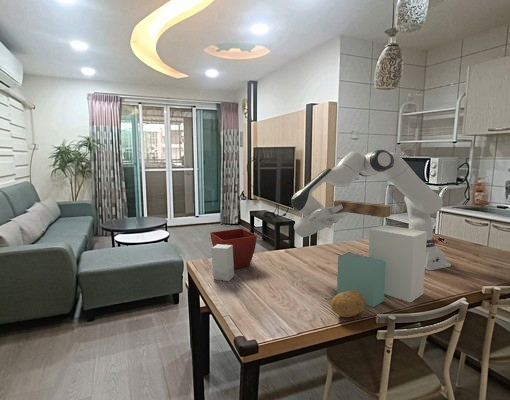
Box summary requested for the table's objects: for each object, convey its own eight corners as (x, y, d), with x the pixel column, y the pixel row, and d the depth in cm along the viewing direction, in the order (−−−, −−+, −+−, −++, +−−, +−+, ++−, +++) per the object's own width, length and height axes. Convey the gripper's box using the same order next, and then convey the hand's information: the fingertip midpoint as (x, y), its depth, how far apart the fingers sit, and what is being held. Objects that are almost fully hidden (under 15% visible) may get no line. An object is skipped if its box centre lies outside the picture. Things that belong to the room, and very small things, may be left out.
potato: (322, 315, 112) (323, 293, 111) (349, 304, 120) (349, 284, 119) (344, 327, 104) (345, 304, 103) (371, 315, 112) (372, 293, 111)
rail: (333, 210, 131) (333, 200, 130) (339, 209, 133) (339, 199, 133) (384, 217, 114) (385, 206, 114) (390, 216, 117) (390, 205, 116)
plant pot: (223, 273, 154) (222, 240, 152) (210, 262, 171) (209, 232, 169) (258, 267, 163) (257, 235, 161) (242, 257, 180) (241, 228, 177)
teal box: (348, 288, 135) (349, 252, 133) (383, 300, 123) (385, 261, 121) (337, 293, 130) (338, 255, 128) (373, 307, 118) (375, 265, 116)
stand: (381, 281, 143) (383, 224, 140) (423, 293, 129) (427, 231, 126) (367, 288, 135) (369, 228, 132) (410, 302, 122) (414, 236, 118)
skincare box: (234, 277, 150) (233, 244, 148) (228, 282, 143) (228, 248, 141) (218, 275, 152) (217, 243, 150) (212, 279, 146) (211, 247, 144)
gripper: (304, 214, 132) (328, 200, 122) (333, 208, 145) (357, 196, 136) (309, 228, 131) (334, 215, 121) (338, 221, 144) (363, 209, 134)
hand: (346, 205), depth 128 cm, fingers closed on rail, 4 cm apart
